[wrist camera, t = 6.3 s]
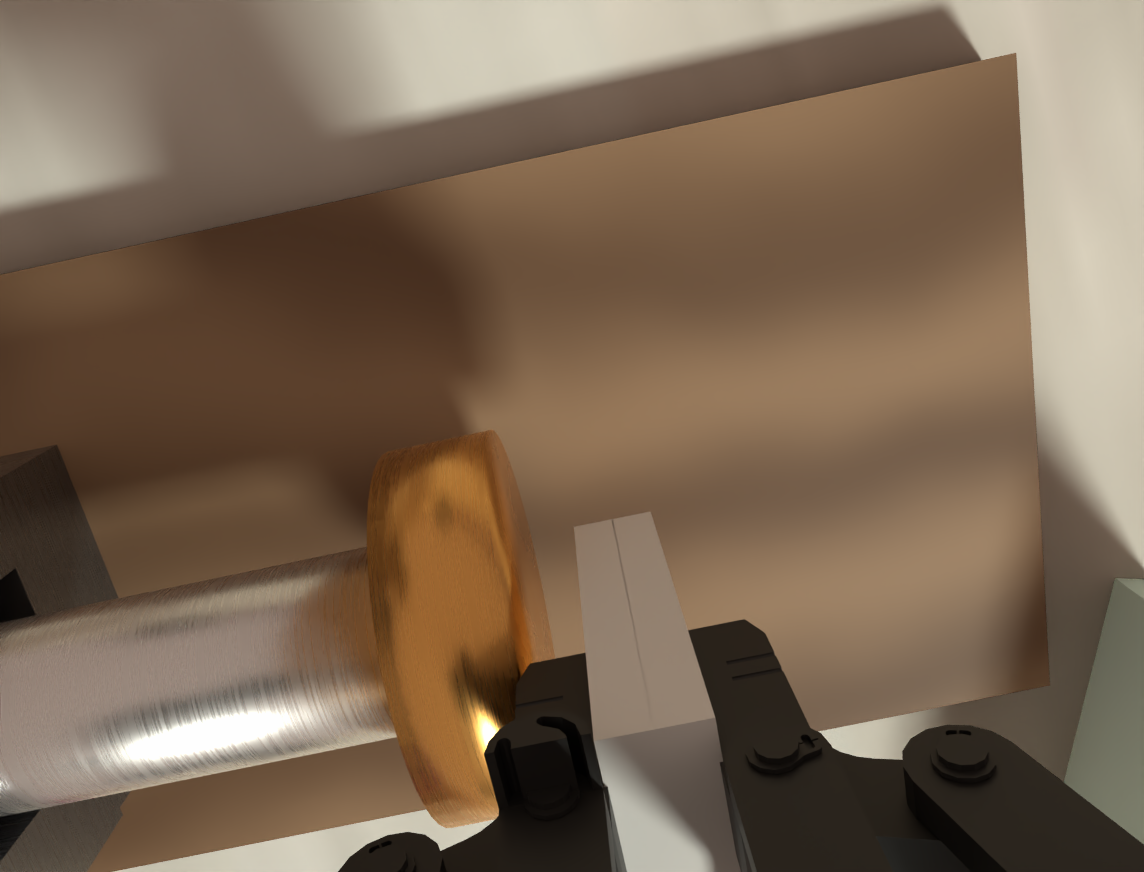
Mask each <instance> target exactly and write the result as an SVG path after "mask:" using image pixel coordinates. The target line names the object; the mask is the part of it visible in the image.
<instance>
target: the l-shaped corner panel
mask: <svg viewBox="0 0 1144 872" xmlns="http://www.w3.org/2000/svg"><path fill="white" fill-rule="evenodd" d="M1064 783H1065V784H1066V785H1068V786H1069V787H1070V788H1072V789H1073V790H1074V791H1075V792H1077V793H1078V794H1079V795H1081V796H1082V797H1083V798H1085V799H1086V800H1087V801H1088V802H1090V803H1091V804H1092V805H1094V806H1095V807H1096V808H1097V809H1099V810H1100V811H1101V812H1103V813H1104V814H1105V815H1106V816H1108V817H1109V818H1110V819H1112V820H1113V821H1114V822H1116V823H1117V824H1118V825H1119V826H1121V827H1122V828H1123V829H1125V830H1126V831H1127V832H1128V833H1130V834H1131V835H1132V836H1134V837H1135V838H1136V839H1138V840H1139V841H1140V842H1141V843H1143V844H1144V579H1127V578H1115V581H1114V584H1113V588H1112V592H1111V596H1110V600H1109V604H1108V608H1107V612H1106V616H1105V620H1104V624H1103V628H1102V632H1101V636H1100V640H1099V644H1098V648H1097V652H1096V656H1095V660H1094V664H1093V668H1092V672H1091V676H1090V680H1089V684H1088V688H1087V692H1086V696H1085V699H1084V703H1083V707H1082V711H1081V715H1080V719H1079V723H1078V727H1077V731H1076V735H1075V739H1074V743H1073V747H1072V751H1071V755H1070V759H1069V763H1068V767H1067V771H1066V775H1065V779H1064Z"/></svg>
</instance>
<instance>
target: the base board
mask: <svg viewBox="0 0 1144 872" xmlns="http://www.w3.org/2000/svg"><path fill="white" fill-rule="evenodd" d="M488 430H494V431H495V432H496V433H497V435H498V436H499V438H500V440H501V442H502V444H503V446H504V448H505V451H506V453H507V456H508V458H509V461H510V464H511V467H512V470H513V473H514V476H515V479H516V482H517V486H518V489H519V492H520V496H521V499H522V503H523V507H524V511H525V514H526V518H527V522H528V526H529V530H530V534H531V538H532V542H533V547H534V551H535V555H536V560H537V564H538V569H539V574H540V578H541V583H542V588H543V593H544V598H545V603H546V608H547V613H548V619H549V624H550V630H551V636H552V642H553V647H554V653H555V659H556V658H561V657H566V656H571V655H576V654H581V653H585V642H584V631H583V620H582V609H581V598H580V588H579V577H578V566H577V555H576V544H575V533H574V527H576V526H581V525H586V524H591V523H596V522H601V521H606V520H611V519H616V518H621V517H626V516H631V515H636V514H641V513H646V512H651V515H652V518H653V521H654V524H655V527H656V531H657V534H658V537H659V540H660V543H661V547H662V550H663V553H664V556H665V559H666V562H667V566H668V569H669V572H670V575H671V578H672V581H673V585H674V588H675V591H676V594H677V597H678V601H679V604H680V607H681V610H682V613H683V616H684V620H685V623H686V626H687V629H688V630H692V629H697V628H702V627H707V626H712V625H717V624H722V623H727V622H732V621H737V620H743V619H745V620H747V621H748V622H750V623H751V624H753V625H754V626H756V627H757V628H759V629H760V630H761V631H763V632H764V633H765V634H766V636H767V638H768V640H769V642H770V644H771V646H772V648H773V650H774V653H775V656H776V657H777V659H778V661H779V663H780V665H781V667H782V671H784V673H785V676H786V678H787V680H788V682H789V684H790V686H791V688H792V690H793V692H794V694H795V697H796V699H797V701H798V703H799V705H800V707H801V709H802V711H803V713H804V715H805V718H806V720H807V722H808V724H809V726H810V728H812V729H814V730H816V731H822V730H827V729H832V728H838V727H843V726H848V725H853V724H858V723H863V722H868V721H873V720H878V719H883V718H888V717H893V716H898V715H903V714H908V713H913V712H918V711H923V710H928V709H933V708H938V707H943V706H948V705H953V704H958V703H963V702H968V701H973V700H978V699H983V698H989V697H994V696H999V695H1004V694H1009V693H1014V692H1019V691H1024V690H1029V689H1034V688H1039V687H1044V686H1049V685H1050V678H1049V659H1048V640H1047V622H1046V603H1045V584H1044V566H1043V547H1042V528H1041V509H1040V491H1039V472H1038V453H1037V434H1036V416H1035V397H1034V378H1033V360H1032V341H1031V322H1030V303H1029V285H1028V266H1027V247H1026V228H1025V210H1024V191H1023V172H1022V154H1021V135H1020V116H1019V97H1018V79H1017V60H1016V53H1014V54H1009V55H1004V56H1000V57H995V58H991V59H986V60H981V61H977V62H972V63H968V64H963V65H959V66H954V67H949V68H945V69H940V70H936V71H931V72H927V73H922V74H917V75H913V76H908V77H904V78H899V79H894V80H890V81H885V82H881V83H876V84H872V85H867V86H862V87H858V88H853V89H849V90H844V91H839V92H835V93H830V94H826V95H821V96H817V97H812V98H807V99H803V100H798V101H794V102H789V103H785V104H780V105H775V106H771V107H766V108H762V109H757V110H752V111H748V112H743V113H739V114H734V115H730V116H725V117H720V118H716V119H711V120H707V121H702V122H697V123H693V124H688V125H684V126H679V127H675V128H670V129H665V130H661V131H656V132H652V133H647V134H643V135H638V136H633V137H629V138H624V139H620V140H615V141H610V142H606V143H601V144H597V145H592V146H588V147H583V148H578V149H574V150H569V151H565V152H560V153H555V154H551V155H546V156H542V157H537V158H533V159H528V160H523V161H519V162H514V163H510V164H505V165H500V166H496V167H491V168H487V169H482V170H478V171H473V172H468V173H464V174H459V175H455V176H450V177H446V178H441V179H436V180H432V181H427V182H423V183H418V184H413V185H409V186H404V187H400V188H395V189H391V190H386V191H381V192H377V193H372V194H368V195H363V196H358V197H354V198H349V199H345V200H340V201H336V202H331V203H326V204H322V205H317V206H313V207H308V208H304V209H299V210H294V211H290V212H285V213H281V214H276V215H271V216H267V217H262V218H258V219H253V220H249V221H244V222H239V223H235V224H230V225H226V226H221V227H216V228H212V229H207V230H203V231H198V232H194V233H189V234H184V235H180V236H175V237H171V238H166V239H162V240H157V241H152V242H148V243H143V244H139V245H134V246H129V247H125V248H120V249H116V250H111V251H107V252H102V253H97V254H93V255H88V256H84V257H79V258H74V259H70V260H65V261H61V262H56V263H52V264H47V265H42V266H38V267H33V268H29V269H24V270H20V271H15V272H10V273H6V274H1V275H0V456H5V455H10V454H15V453H19V452H24V451H29V450H33V449H38V448H43V447H47V446H52V445H57V446H58V448H59V451H60V453H61V456H62V458H63V461H64V463H65V466H66V468H67V471H68V473H69V476H70V478H71V481H72V483H73V486H74V488H75V491H76V493H77V496H78V498H79V501H80V503H81V506H82V508H83V511H84V513H85V515H86V518H87V520H88V523H89V525H90V528H91V530H92V533H93V535H94V538H95V540H96V543H97V545H98V548H99V550H100V553H101V555H102V558H103V560H104V563H105V565H106V568H107V570H108V573H109V575H110V578H111V580H112V583H113V585H114V588H115V590H116V593H117V595H118V598H122V597H127V596H131V595H136V594H141V593H146V592H151V591H155V590H160V589H165V588H170V587H175V586H180V585H184V584H189V583H194V582H199V581H204V580H209V579H213V578H218V577H223V576H228V575H233V574H238V573H242V572H247V571H252V570H257V569H262V568H266V567H271V566H276V565H281V564H286V563H291V562H295V561H300V560H305V559H310V558H315V557H320V556H324V555H329V554H334V553H339V552H344V551H348V550H353V549H358V548H363V547H367V511H368V498H369V491H370V484H371V480H372V476H373V471H374V469H375V466H376V464H377V461H378V460H379V459H380V457H381V456H382V455H383V454H384V453H386V452H388V451H392V450H397V449H402V448H407V447H411V446H416V445H421V444H426V443H430V442H435V441H440V440H445V439H450V438H454V437H459V436H464V435H469V434H473V433H478V432H483V431H488ZM120 809H121V811H122V814H123V816H122V817H121V819H120V820H119V822H118V824H117V825H116V827H115V828H114V830H113V831H112V833H111V835H110V836H109V838H108V839H107V841H106V842H105V844H104V846H103V847H102V849H101V850H100V852H99V854H98V855H97V857H96V858H95V860H94V861H93V863H92V865H91V866H90V868H89V869H88V871H87V872H113V871H118V870H123V869H128V868H133V867H138V866H143V865H148V864H153V863H158V862H163V861H168V860H173V859H178V858H183V857H188V856H193V855H198V854H203V853H208V852H213V851H218V850H223V849H228V848H233V847H239V846H244V845H249V844H254V843H259V842H264V841H269V840H274V839H279V838H284V837H289V836H294V835H299V834H304V833H309V832H314V831H319V830H324V829H329V828H334V827H339V826H344V825H349V824H354V823H359V822H364V821H369V820H374V819H379V818H384V817H390V816H395V815H400V814H405V813H410V812H415V811H420V810H425V809H426V808H425V806H424V804H423V802H422V801H421V799H420V797H419V795H418V793H417V791H416V789H415V786H414V784H413V781H412V779H411V777H410V774H409V772H408V769H407V766H406V764H405V761H404V758H403V755H402V752H401V749H400V746H399V743H398V739H397V737H395V738H390V739H385V740H380V741H375V742H370V743H365V744H360V745H355V746H350V747H345V748H340V749H335V750H330V751H326V752H321V753H316V754H311V755H306V756H301V757H296V758H291V759H286V760H281V761H276V762H271V763H266V764H261V765H256V766H251V767H246V768H241V769H236V770H231V771H226V772H221V773H216V774H211V775H206V776H201V777H196V778H191V779H186V780H181V781H176V782H171V783H166V784H161V785H156V786H151V787H147V788H142V789H137V790H132V791H131V792H130V793H129V795H128V796H127V798H126V799H125V801H124V802H123V804H122V805H121V807H120Z"/></svg>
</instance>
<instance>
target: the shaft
mask: <svg viewBox="0 0 1144 872" xmlns="http://www.w3.org/2000/svg"><path fill="white" fill-rule="evenodd" d="M550 659H555V653H554V647H553V642H552V636H551V630H550V624H549V619H548V613H547V608H546V603H545V598H544V593H543V588H542V583H541V578H540V574H539V569H538V564H537V560H536V555H535V551H534V547H533V542H532V538H531V534H530V530H529V526H528V522H527V518H526V514H525V511H524V507H523V503H522V499H521V496H520V492H519V489H518V486H517V482H516V479H515V476H514V473H513V470H512V467H511V464H510V461H509V458H508V456H507V453H506V451H505V448H504V446H503V444H502V442H501V440H500V438H499V436H498V435H497V433H496V432H495V431H494V430H488V431H483V432H478V433H473V434H469V435H464V436H459V437H454V438H450V439H445V440H440V441H435V442H430V443H426V444H421V445H416V446H411V447H407V448H402V449H397V450H392V451H388V452H386V453H384V454H383V455H382V456H381V457H380V459H379V460H378V461H377V464H376V466H375V469H374V471H373V476H372V480H371V484H370V491H369V498H368V511H367V547H363V548H358V549H353V550H348V551H344V552H339V553H334V554H329V555H324V556H320V557H315V558H310V559H305V560H300V561H295V562H291V563H286V564H281V565H276V566H271V567H266V568H262V569H257V570H252V571H247V572H242V573H238V574H233V575H228V576H223V577H218V578H213V579H209V580H204V581H199V582H194V583H189V584H184V585H180V586H175V587H170V588H165V589H160V590H155V591H151V592H146V593H141V594H136V595H131V596H127V597H122V598H117V599H112V600H107V601H102V602H98V603H93V604H88V605H83V606H78V607H73V608H69V609H64V610H59V611H54V612H49V613H45V614H40V615H35V616H30V617H25V618H20V619H16V620H11V621H6V622H1V623H0V817H2V816H7V815H12V814H17V813H22V812H27V811H32V810H37V809H42V808H47V807H52V806H57V805H62V804H67V803H72V802H77V801H82V800H87V799H92V798H97V797H102V796H107V795H112V794H117V793H122V792H127V791H132V790H137V789H142V788H147V787H151V786H156V785H161V784H166V783H171V782H176V781H181V780H186V779H191V778H196V777H201V776H206V775H211V774H216V773H221V772H226V771H231V770H236V769H241V768H246V767H251V766H256V765H261V764H266V763H271V762H276V761H281V760H286V759H291V758H296V757H301V756H306V755H311V754H316V753H321V752H326V751H330V750H335V749H340V748H345V747H350V746H355V745H360V744H365V743H370V742H375V741H380V740H385V739H390V738H395V737H397V739H398V743H399V746H400V749H401V752H402V755H403V758H404V761H405V764H406V766H407V769H408V772H409V774H410V777H411V779H412V781H413V784H414V786H415V789H416V791H417V793H418V795H419V797H420V799H421V801H422V802H423V804H424V806H425V808H426V809H427V811H428V812H429V814H430V815H431V817H432V818H433V819H434V820H435V821H436V822H437V823H438V824H439V825H441V826H443V827H445V828H453V827H458V826H464V825H469V824H474V823H479V822H484V821H489V820H494V819H496V818H497V817H498V816H499V808H498V804H497V800H496V797H495V793H494V789H493V786H492V782H491V778H490V775H489V771H488V767H487V764H486V760H485V756H484V752H485V750H486V747H487V744H488V742H489V740H490V739H491V738H492V737H493V736H494V735H495V733H496V732H497V731H498V730H499V729H500V728H501V727H503V726H505V725H506V724H508V723H510V722H511V721H513V720H515V709H516V705H515V702H516V684H517V682H518V681H519V679H520V678H521V676H522V675H523V673H524V672H525V670H526V669H527V667H528V665H529V664H530V663H535V662H540V661H545V660H550Z"/></svg>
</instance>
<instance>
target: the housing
mask: <svg viewBox="0 0 1144 872" xmlns="http://www.w3.org/2000/svg"><path fill="white" fill-rule="evenodd" d="M117 598H118V595H117V593H116V590H115V588H114V585H113V583H112V580H111V578H110V575H109V573H108V570H107V568H106V565H105V563H104V560H103V558H102V555H101V553H100V550H99V548H98V545H97V543H96V540H95V538H94V535H93V533H92V530H91V528H90V525H89V523H88V520H87V518H86V515H85V513H84V511H83V508H82V506H81V503H80V501H79V498H78V496H77V493H76V491H75V488H74V486H73V483H72V481H71V478H70V476H69V473H68V471H67V468H66V466H65V463H64V461H63V458H62V456H61V453H60V451H59V448H58V446H57V445H52V446H47V447H43V448H38V449H33V450H29V451H24V452H19V453H15V454H10V455H5V456H0V623H1V622H6V621H11V620H16V619H20V618H25V617H30V616H35V615H40V614H45V613H49V612H54V611H59V610H64V609H69V608H73V607H78V606H83V605H88V604H93V603H98V602H102V601H107V600H112V599H117ZM130 792H131V791H127V792H122V793H117V794H112V795H107V796H102V797H97V798H92V799H87V800H82V801H77V802H72V803H67V804H62V805H57V806H52V807H47V808H42V809H37V810H32V811H27V812H22V813H17V814H12V815H7V816H2V817H0V872H87V871H88V869H89V868H90V866H91V865H92V863H93V861H94V860H95V858H96V857H97V855H98V854H99V852H100V850H101V849H102V847H103V846H104V844H105V842H106V841H107V839H108V838H109V836H110V835H111V833H112V831H113V830H114V828H115V827H116V825H117V824H118V822H119V820H120V819H121V817H122V816H123V814H122V811H121V809H120V807H121V805H122V804H123V802H124V801H125V799H126V798H127V796H128V795H129V793H130Z"/></svg>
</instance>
